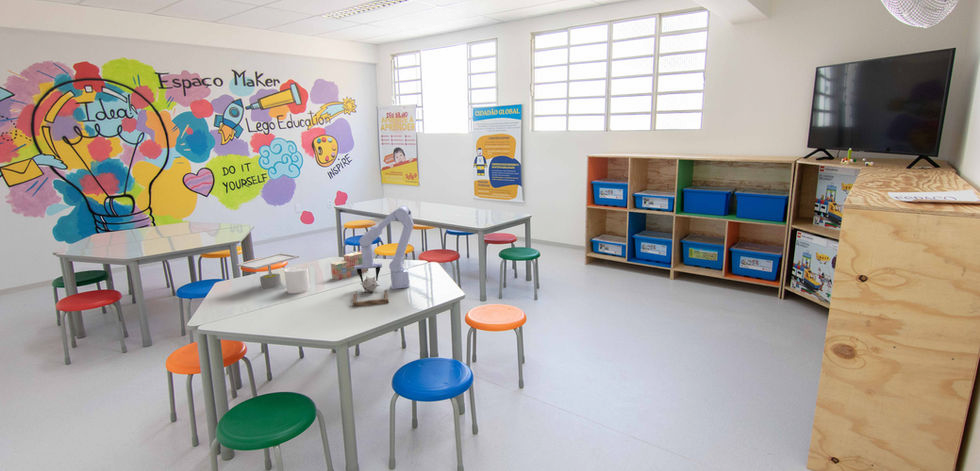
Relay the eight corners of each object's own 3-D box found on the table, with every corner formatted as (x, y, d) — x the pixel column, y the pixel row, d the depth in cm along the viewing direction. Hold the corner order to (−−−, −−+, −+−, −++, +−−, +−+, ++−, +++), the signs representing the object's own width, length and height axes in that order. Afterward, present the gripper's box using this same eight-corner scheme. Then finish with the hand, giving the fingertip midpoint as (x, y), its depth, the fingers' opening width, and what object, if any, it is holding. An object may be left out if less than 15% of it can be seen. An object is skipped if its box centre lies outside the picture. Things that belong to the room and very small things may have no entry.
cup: (295, 286, 278) (292, 265, 276) (314, 287, 276) (311, 266, 273) (282, 293, 267) (279, 271, 265) (302, 294, 265) (299, 272, 262)
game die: (374, 297, 266) (384, 282, 265) (365, 297, 258) (376, 281, 257) (363, 287, 269) (373, 272, 268) (354, 286, 261) (364, 271, 260)
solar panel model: (258, 294, 266) (255, 267, 263) (239, 290, 275) (236, 264, 272) (302, 280, 289) (299, 255, 286) (283, 277, 298) (280, 252, 295)
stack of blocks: (338, 280, 288) (335, 259, 285) (332, 278, 292) (329, 258, 289) (368, 271, 304) (366, 251, 301) (362, 270, 308) (360, 250, 305)
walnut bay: (387, 293, 259) (387, 290, 259) (388, 302, 246) (388, 299, 245) (353, 297, 255) (353, 293, 255) (353, 306, 242) (352, 303, 241)
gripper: (380, 254, 274) (382, 277, 276) (353, 256, 270) (356, 280, 273) (381, 257, 267) (383, 281, 270) (353, 259, 264) (355, 284, 266)
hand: (369, 281), depth 271 cm, fingers open, 7 cm apart
